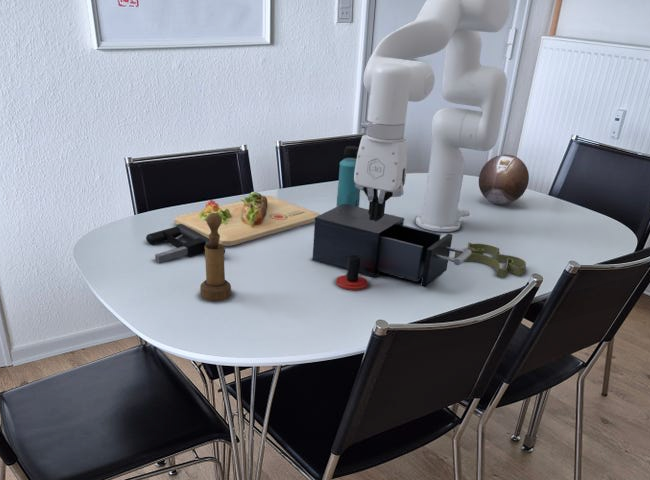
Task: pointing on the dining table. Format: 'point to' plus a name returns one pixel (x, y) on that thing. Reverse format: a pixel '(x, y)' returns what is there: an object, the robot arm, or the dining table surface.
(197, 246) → the toy gun
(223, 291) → the mortar and pestle
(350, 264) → the lid
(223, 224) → the cutting board
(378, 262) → the drawer
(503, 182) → the wooden sphere
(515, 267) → the cookie cutter
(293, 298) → the dining table surface
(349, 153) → the beverage bottle
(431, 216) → the robot arm
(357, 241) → the dark grey metal box
